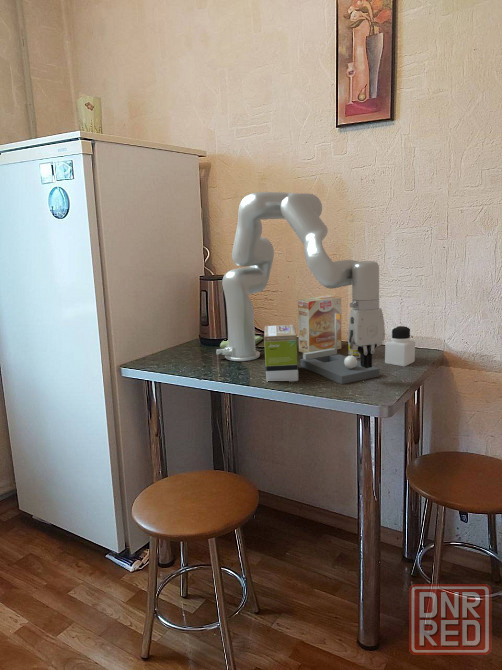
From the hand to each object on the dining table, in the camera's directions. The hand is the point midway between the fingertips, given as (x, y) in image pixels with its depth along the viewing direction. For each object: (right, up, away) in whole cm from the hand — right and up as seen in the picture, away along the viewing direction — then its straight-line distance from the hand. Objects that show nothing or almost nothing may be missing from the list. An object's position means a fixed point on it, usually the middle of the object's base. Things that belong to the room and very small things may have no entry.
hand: (366, 366), depth 154 cm
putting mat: (-6, -2, +13) cm, 15 cm away
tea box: (-24, -4, +12) cm, 27 cm away
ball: (-3, +1, +6) cm, 7 cm away
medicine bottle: (+15, 0, +19) cm, 25 cm away
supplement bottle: (+3, +2, +29) cm, 29 cm away
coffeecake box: (-8, +4, +40) cm, 41 cm away
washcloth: (-38, +5, +54) cm, 66 cm away
